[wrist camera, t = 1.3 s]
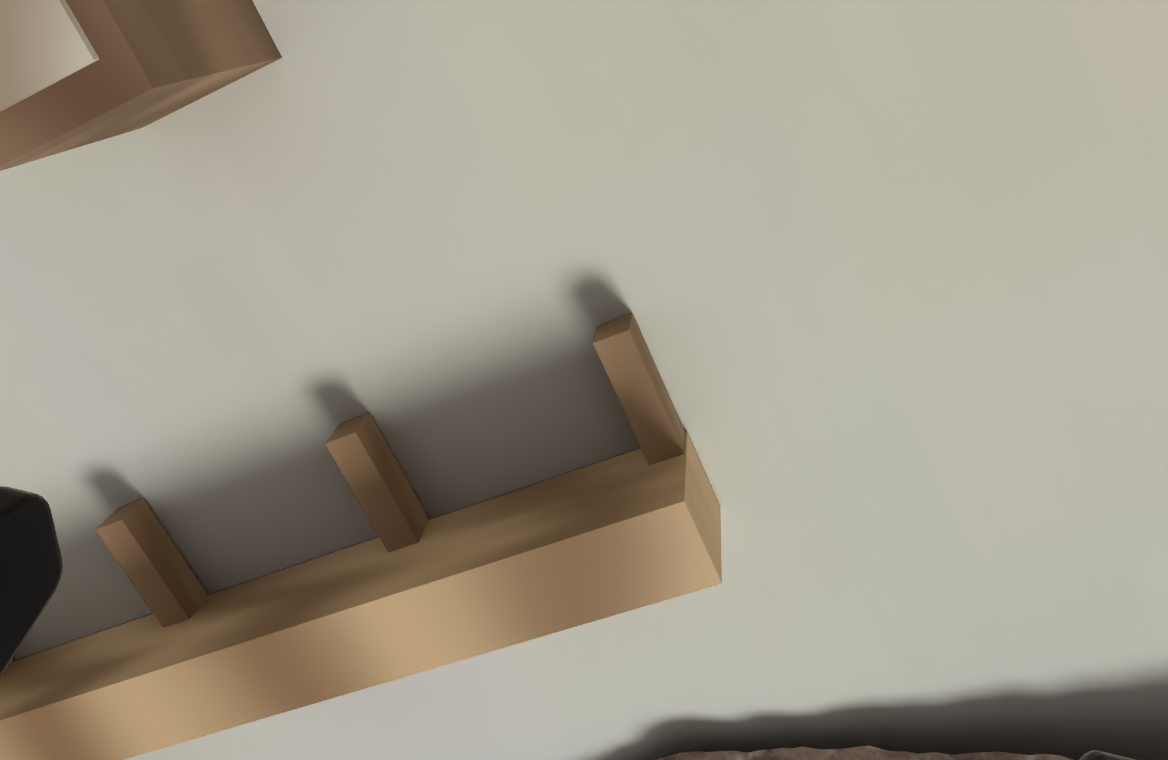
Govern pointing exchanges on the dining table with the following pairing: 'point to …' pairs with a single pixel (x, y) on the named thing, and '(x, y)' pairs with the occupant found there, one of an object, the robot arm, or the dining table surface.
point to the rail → (377, 589)
